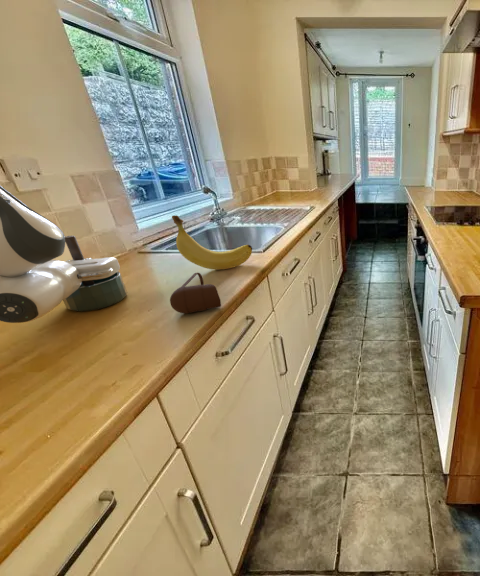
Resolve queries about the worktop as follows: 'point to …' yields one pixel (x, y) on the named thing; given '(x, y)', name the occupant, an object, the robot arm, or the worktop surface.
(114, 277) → the bowl
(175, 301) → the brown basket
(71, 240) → the stirring stick
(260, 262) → the worktop surface
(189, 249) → the banana
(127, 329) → the worktop surface
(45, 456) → the worktop surface
